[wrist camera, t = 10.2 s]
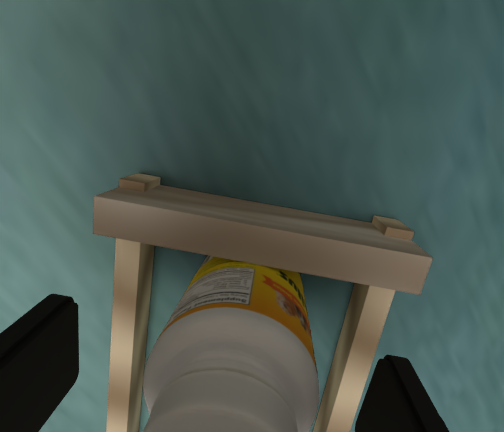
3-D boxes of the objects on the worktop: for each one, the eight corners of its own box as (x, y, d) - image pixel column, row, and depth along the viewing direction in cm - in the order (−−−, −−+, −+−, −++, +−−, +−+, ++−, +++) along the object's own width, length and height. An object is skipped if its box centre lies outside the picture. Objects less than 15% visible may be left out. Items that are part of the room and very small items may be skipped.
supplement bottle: (307, 318, 18) (346, 555, 8) (212, 328, 18) (136, 559, 8) (293, 224, 16) (318, 366, 6) (191, 239, 17) (69, 389, 7)
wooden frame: (137, 173, 16) (94, 186, 12) (397, 219, 16) (436, 248, 12) (116, 500, 23) (83, 576, 19) (299, 540, 22) (304, 626, 18)
